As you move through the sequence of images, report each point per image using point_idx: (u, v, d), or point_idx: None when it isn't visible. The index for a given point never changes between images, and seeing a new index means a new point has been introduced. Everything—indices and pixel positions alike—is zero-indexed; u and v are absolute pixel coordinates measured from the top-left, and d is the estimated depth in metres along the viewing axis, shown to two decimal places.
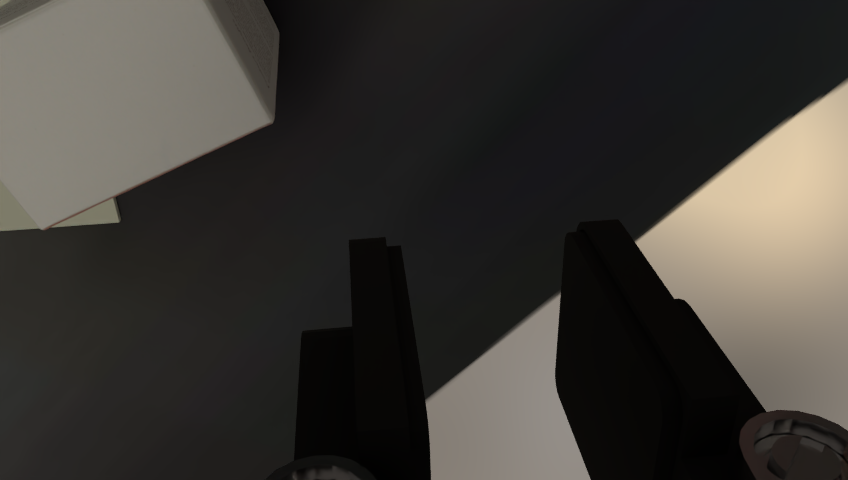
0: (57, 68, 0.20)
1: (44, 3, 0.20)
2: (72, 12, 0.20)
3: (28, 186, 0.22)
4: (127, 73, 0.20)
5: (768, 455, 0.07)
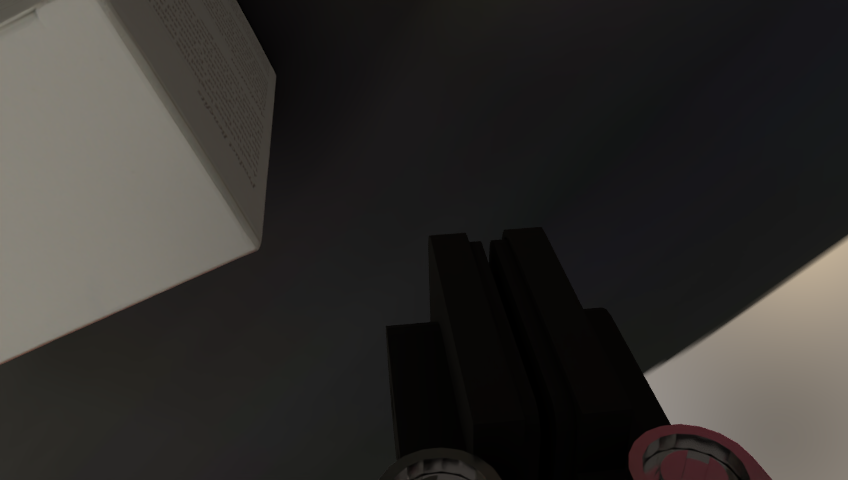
0: None
1: None
2: None
3: None
4: (27, 185, 0.13)
5: (657, 475, 0.07)
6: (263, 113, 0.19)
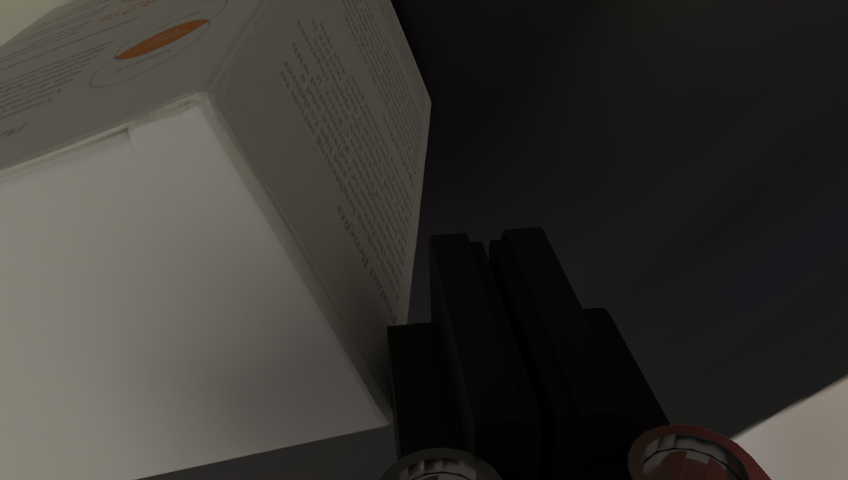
0: None
1: None
2: None
3: None
4: (107, 329, 0.10)
5: (656, 475, 0.07)
6: (413, 181, 0.15)
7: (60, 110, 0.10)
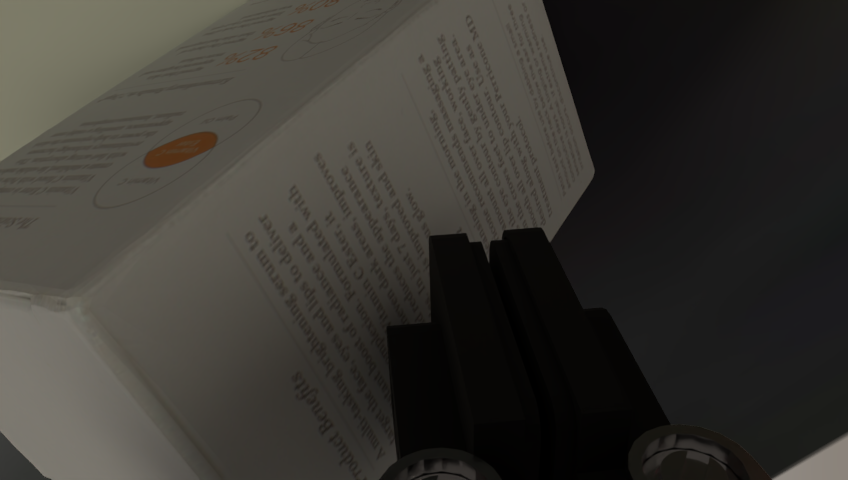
0: None
1: None
2: None
3: (13, 438, 0.14)
4: (69, 424, 0.10)
5: (657, 475, 0.07)
6: None
7: (56, 219, 0.10)
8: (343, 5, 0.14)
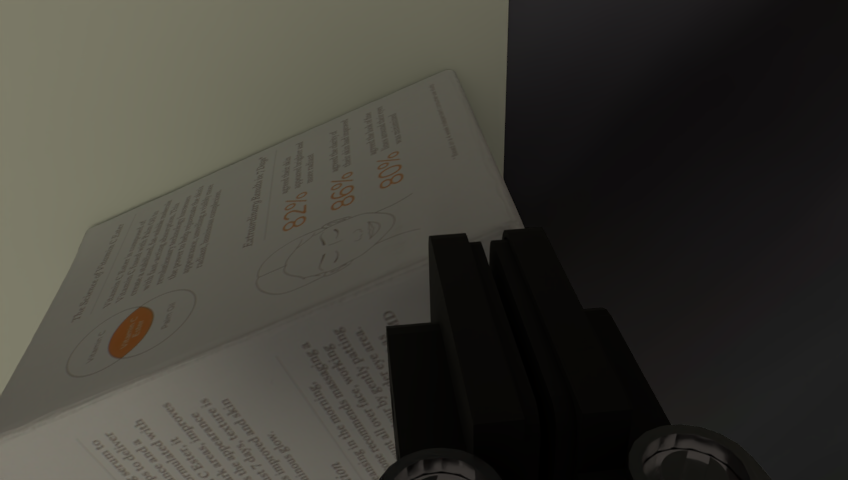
0: None
1: (44, 321, 0.16)
2: None
3: None
4: None
5: (657, 475, 0.07)
6: None
7: (72, 333, 0.15)
8: (370, 204, 0.14)
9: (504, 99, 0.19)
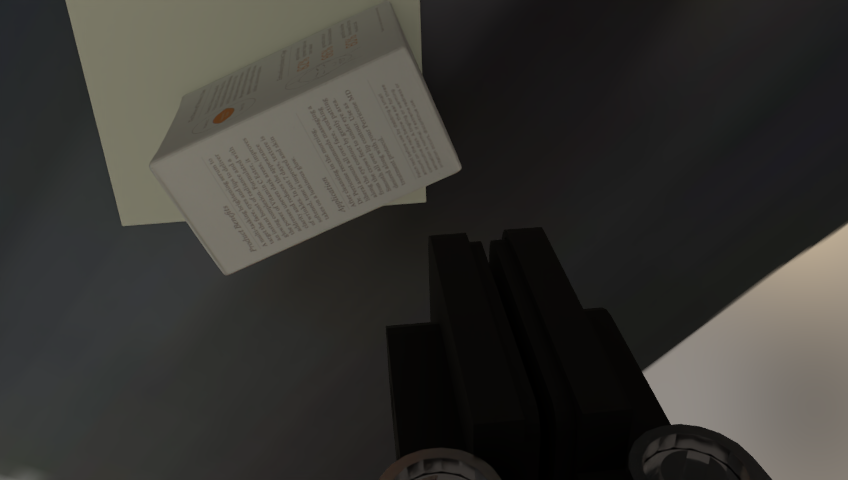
0: None
1: (170, 127, 0.31)
2: None
3: None
4: None
5: (657, 475, 0.07)
6: (346, 209, 0.29)
7: (190, 124, 0.30)
8: (340, 54, 0.29)
9: (419, 19, 0.34)
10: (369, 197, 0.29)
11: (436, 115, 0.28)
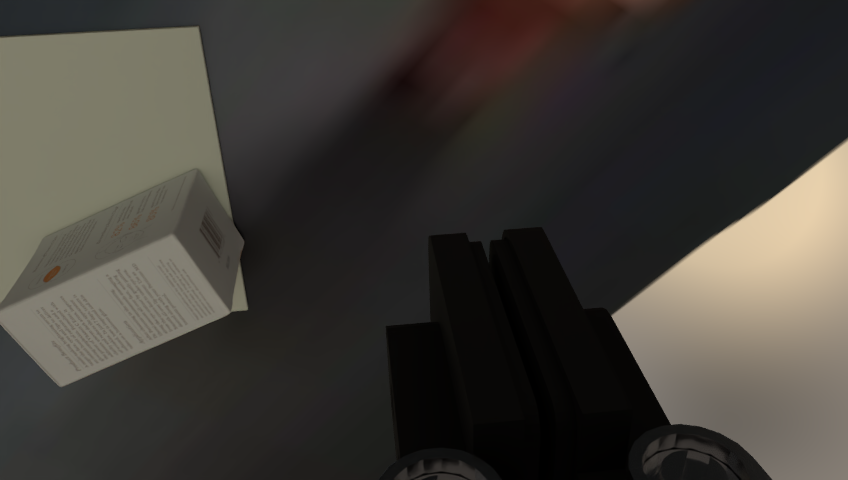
0: None
1: (22, 273, 0.41)
2: None
3: None
4: None
5: (657, 475, 0.07)
6: (145, 341, 0.40)
7: (31, 276, 0.40)
8: (140, 227, 0.39)
9: (224, 180, 0.44)
10: (161, 333, 0.39)
11: (204, 277, 0.38)
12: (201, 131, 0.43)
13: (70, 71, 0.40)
